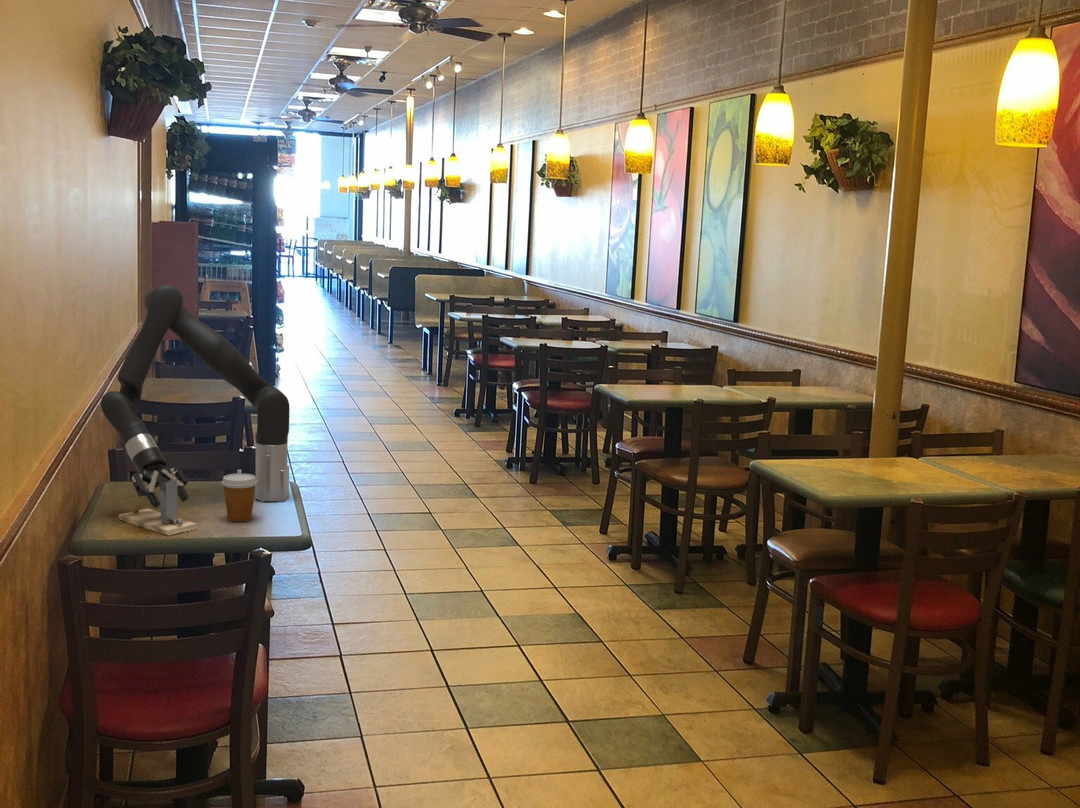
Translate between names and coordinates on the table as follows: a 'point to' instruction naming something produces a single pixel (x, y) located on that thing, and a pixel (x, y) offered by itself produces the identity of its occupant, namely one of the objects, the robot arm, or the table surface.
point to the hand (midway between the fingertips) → (171, 503)
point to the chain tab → (169, 502)
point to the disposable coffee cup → (239, 496)
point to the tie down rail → (155, 521)
